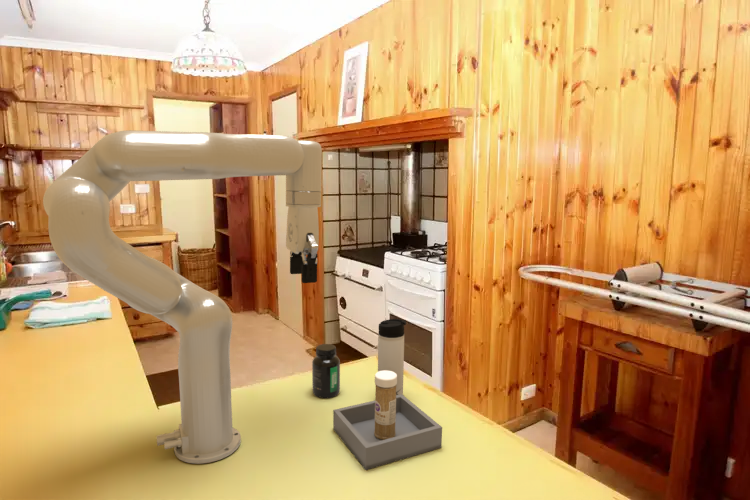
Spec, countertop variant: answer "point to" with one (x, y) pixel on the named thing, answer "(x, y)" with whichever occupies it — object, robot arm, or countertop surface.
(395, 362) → the travel mug
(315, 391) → the supplement bottle
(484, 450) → the countertop surface
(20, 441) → the countertop surface
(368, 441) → the tray
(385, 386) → the sprinkles bottle
